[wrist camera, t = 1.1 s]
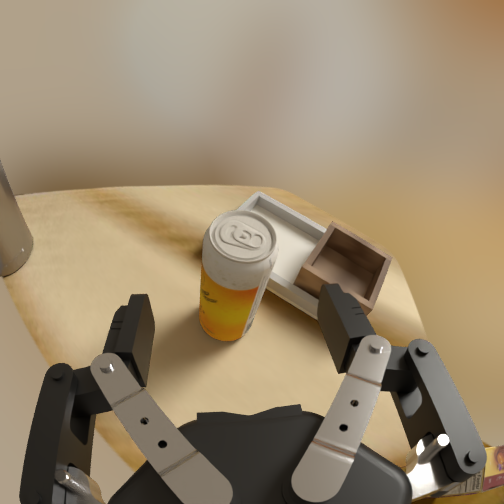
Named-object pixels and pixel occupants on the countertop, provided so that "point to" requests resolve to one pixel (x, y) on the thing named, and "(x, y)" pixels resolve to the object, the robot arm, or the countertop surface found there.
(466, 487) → the candy box
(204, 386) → the countertop surface
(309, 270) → the crate
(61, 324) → the countertop surface
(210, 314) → the beer can
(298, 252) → the tray
